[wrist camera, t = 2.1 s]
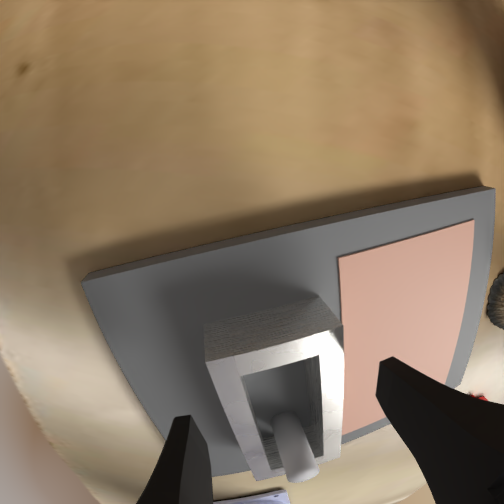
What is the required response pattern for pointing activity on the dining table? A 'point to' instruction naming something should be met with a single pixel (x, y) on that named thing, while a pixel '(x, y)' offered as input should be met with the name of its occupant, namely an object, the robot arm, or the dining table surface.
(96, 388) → the dining table surface
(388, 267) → the post board
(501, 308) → the eagle figurine
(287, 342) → the c link
